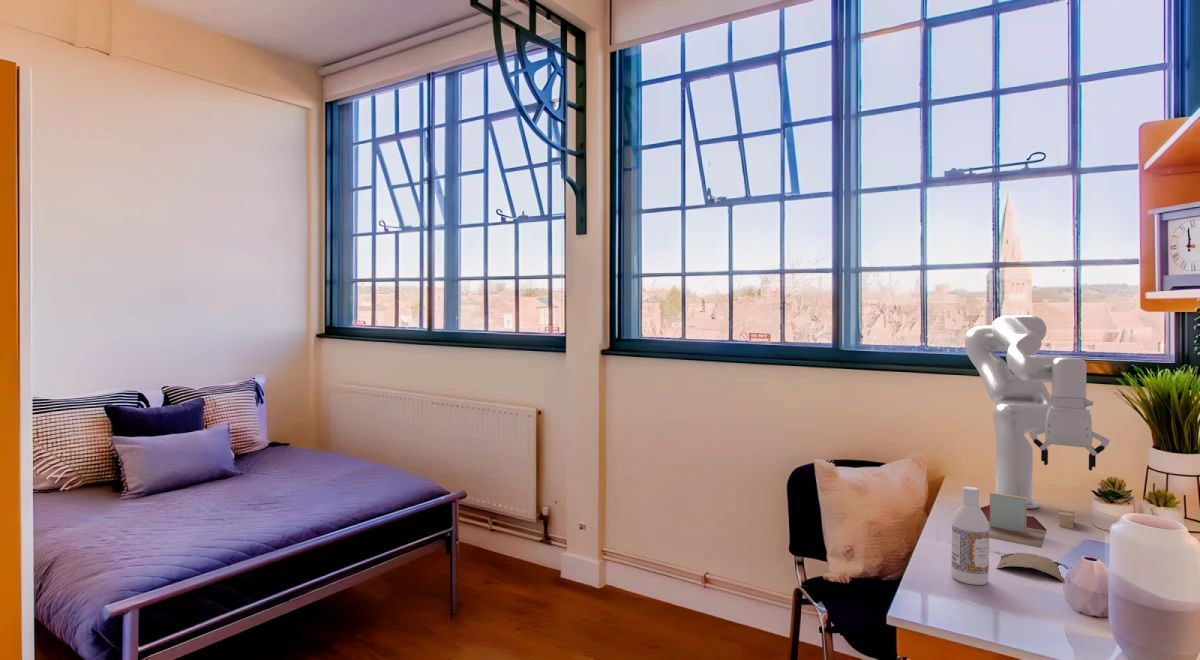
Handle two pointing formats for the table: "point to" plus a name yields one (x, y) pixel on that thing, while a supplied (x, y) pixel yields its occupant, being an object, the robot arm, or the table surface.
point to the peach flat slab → (1008, 512)
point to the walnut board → (1018, 536)
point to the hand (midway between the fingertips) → (1067, 466)
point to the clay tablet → (1031, 563)
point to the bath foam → (970, 541)
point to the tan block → (1066, 518)
